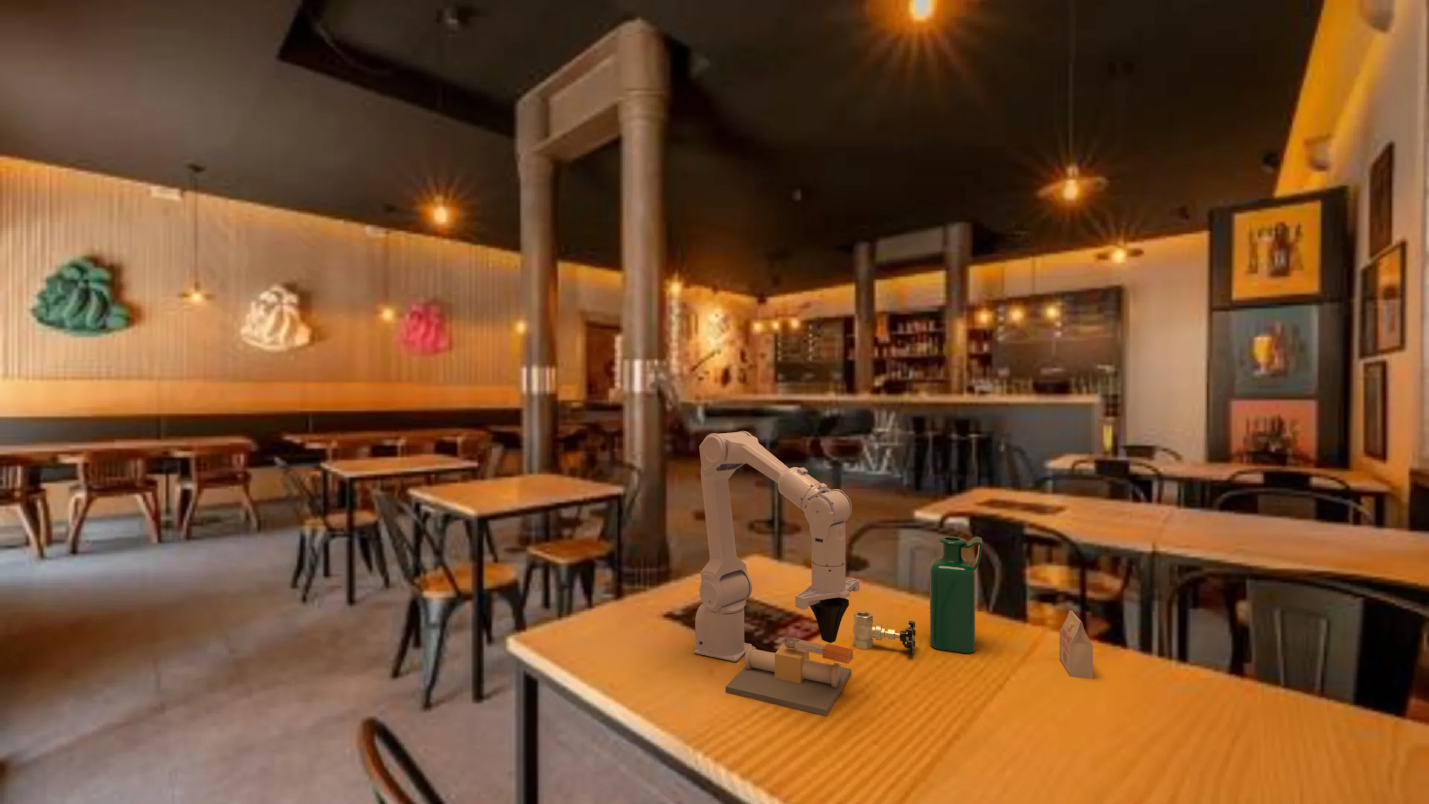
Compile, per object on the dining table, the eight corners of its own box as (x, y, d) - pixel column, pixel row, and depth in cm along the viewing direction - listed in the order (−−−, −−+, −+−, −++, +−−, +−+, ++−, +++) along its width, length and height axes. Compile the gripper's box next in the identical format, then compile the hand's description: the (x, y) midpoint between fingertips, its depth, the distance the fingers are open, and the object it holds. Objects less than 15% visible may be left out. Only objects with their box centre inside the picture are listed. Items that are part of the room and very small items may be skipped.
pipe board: (725, 692, 106) (725, 661, 106) (760, 655, 121) (760, 628, 121) (826, 716, 98) (826, 683, 98) (851, 674, 113) (851, 645, 112)
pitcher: (929, 649, 123) (929, 540, 122) (931, 633, 131) (931, 531, 130) (982, 656, 119) (982, 544, 119) (981, 640, 127) (981, 534, 127)
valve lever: (782, 650, 110) (782, 639, 110) (788, 644, 112) (788, 634, 112) (847, 666, 103) (847, 654, 103) (853, 660, 105) (853, 649, 105)
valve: (849, 650, 123) (911, 661, 118) (849, 618, 123) (911, 627, 118) (856, 638, 129) (916, 648, 124) (856, 607, 129) (915, 615, 124)
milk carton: (1081, 662, 117) (1081, 610, 116) (1092, 678, 110) (1093, 623, 110) (1059, 660, 118) (1059, 608, 117) (1069, 676, 111) (1070, 621, 111)
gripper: (818, 576, 97) (818, 660, 97) (873, 559, 106) (873, 636, 107) (785, 566, 103) (786, 646, 103) (841, 550, 112) (841, 624, 112)
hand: (828, 640), depth 105 cm, fingers closed
